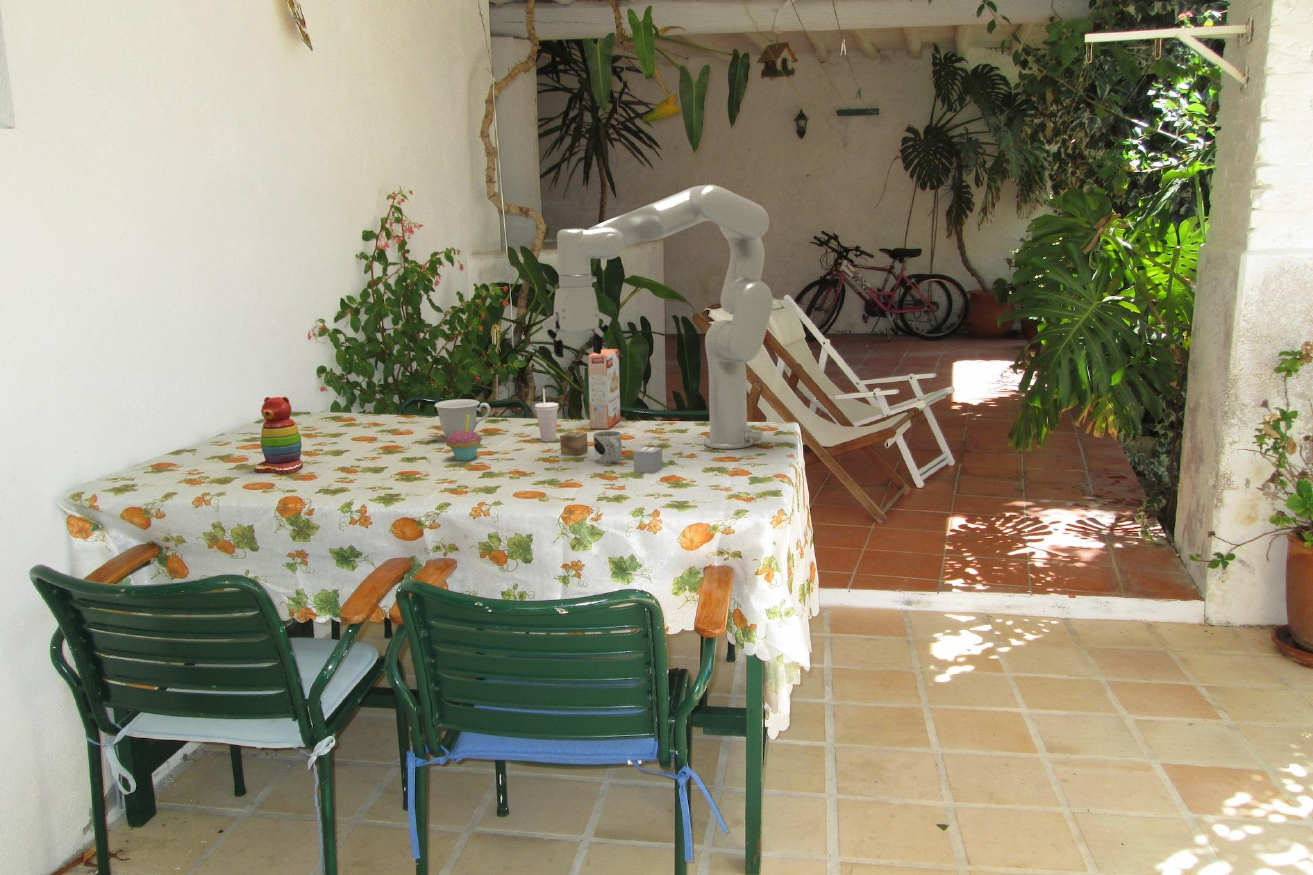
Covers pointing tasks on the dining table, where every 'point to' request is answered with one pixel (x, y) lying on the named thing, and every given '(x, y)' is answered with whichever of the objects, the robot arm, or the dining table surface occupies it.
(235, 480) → the dining table surface
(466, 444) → the cupcake
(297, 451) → the stacking bear
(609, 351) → the cracker box
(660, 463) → the slate number block
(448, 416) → the teacup
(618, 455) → the mug
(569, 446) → the walnut number block
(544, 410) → the smoothie
